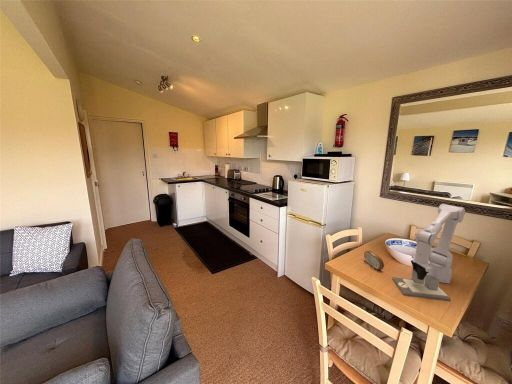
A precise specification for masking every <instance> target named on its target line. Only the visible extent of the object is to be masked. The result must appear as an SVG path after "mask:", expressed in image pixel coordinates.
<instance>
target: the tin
mask: <svg viewBox="0 0 512 384" xmlns="http://www.w3.org/2000/svg"><path fill="white" fill-rule="evenodd" d="M363 257H364V260H365V262H366V263H367V264H368V265H369V266H370V267H372V268H373V269H374V270H376V271H381V270H384V267H385V264H384V261H383V259H382V257H381V256H380V255H378V254H376V253H375V252H374V251H371V250H367V251H364V255H363Z"/></svg>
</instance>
